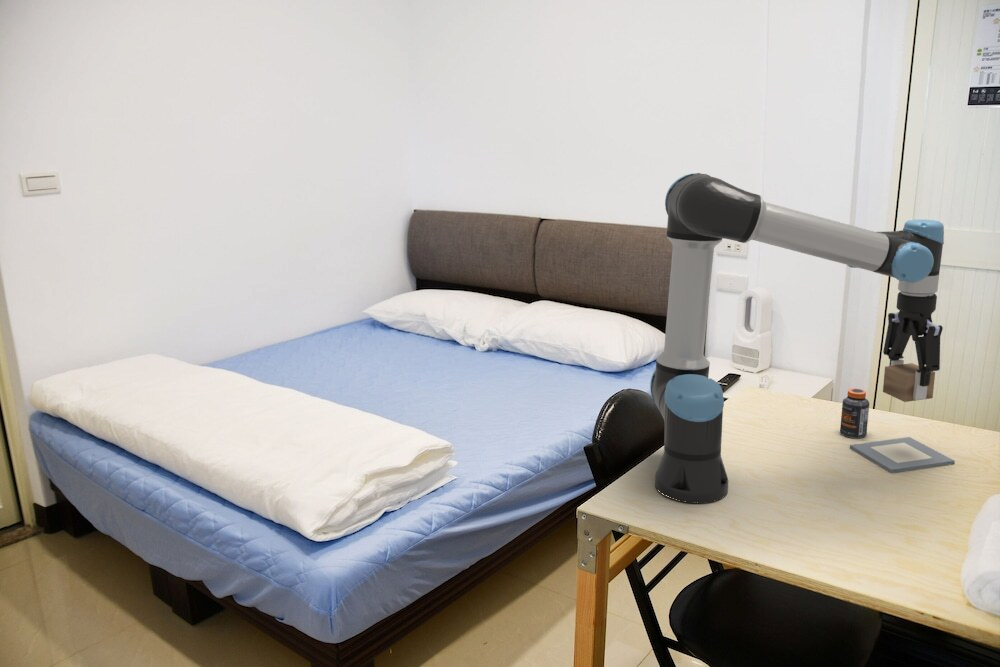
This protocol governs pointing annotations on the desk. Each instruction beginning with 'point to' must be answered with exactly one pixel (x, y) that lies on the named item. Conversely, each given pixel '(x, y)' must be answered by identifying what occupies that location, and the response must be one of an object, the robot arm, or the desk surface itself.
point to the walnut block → (904, 382)
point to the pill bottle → (854, 414)
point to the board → (901, 454)
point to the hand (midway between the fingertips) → (906, 393)
